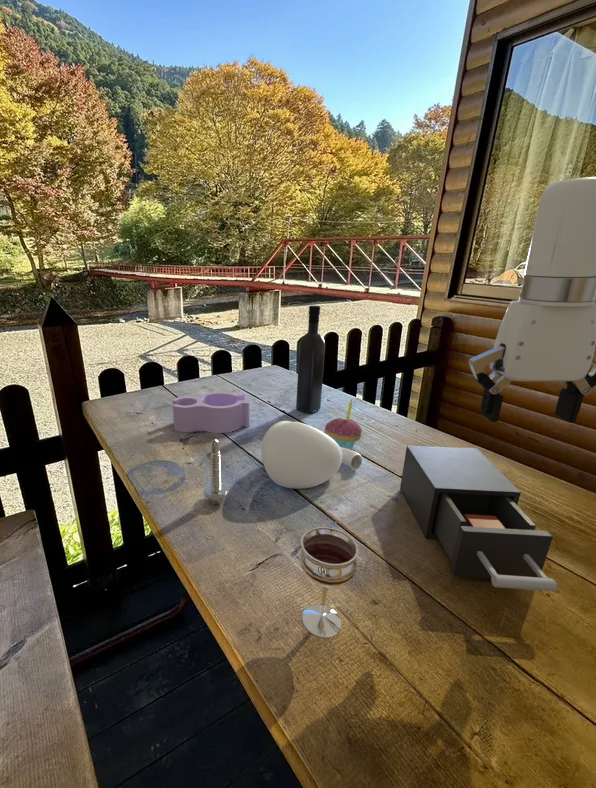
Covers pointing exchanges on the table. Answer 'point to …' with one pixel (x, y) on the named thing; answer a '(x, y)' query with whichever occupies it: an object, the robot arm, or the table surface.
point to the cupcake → (344, 430)
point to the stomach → (303, 455)
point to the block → (482, 521)
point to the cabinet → (448, 479)
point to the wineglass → (326, 573)
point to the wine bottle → (310, 365)
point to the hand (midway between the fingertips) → (526, 418)
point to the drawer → (493, 542)
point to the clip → (211, 412)
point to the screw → (215, 477)
